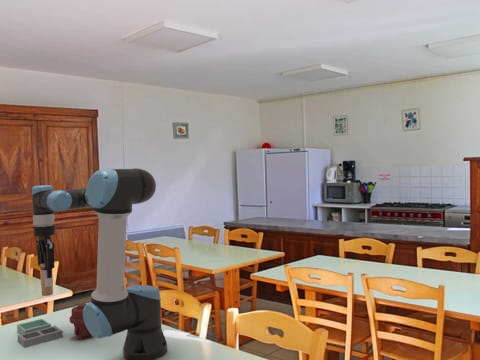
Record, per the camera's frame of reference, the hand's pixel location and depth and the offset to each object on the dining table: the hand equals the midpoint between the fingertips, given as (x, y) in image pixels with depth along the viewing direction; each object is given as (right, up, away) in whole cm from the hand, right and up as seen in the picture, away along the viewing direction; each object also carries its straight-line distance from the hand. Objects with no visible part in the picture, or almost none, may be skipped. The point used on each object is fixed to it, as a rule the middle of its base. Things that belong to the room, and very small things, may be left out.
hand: (46, 285), depth 175 cm
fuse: (0, -4, 0) cm, 4 cm away
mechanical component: (+15, -20, 0) cm, 25 cm away
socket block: (-2, -21, -2) cm, 21 cm away
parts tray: (-8, -21, +7) cm, 23 cm away
